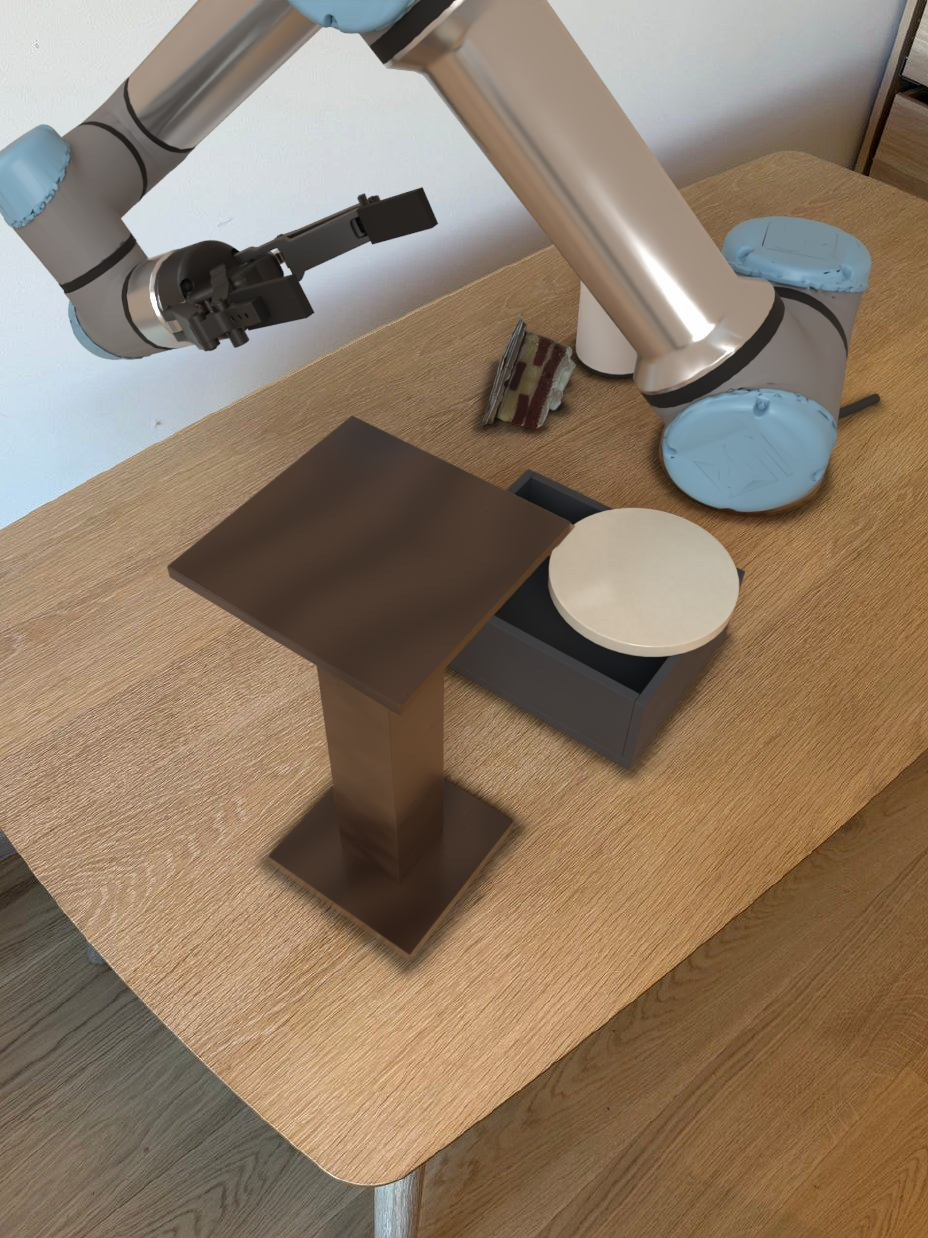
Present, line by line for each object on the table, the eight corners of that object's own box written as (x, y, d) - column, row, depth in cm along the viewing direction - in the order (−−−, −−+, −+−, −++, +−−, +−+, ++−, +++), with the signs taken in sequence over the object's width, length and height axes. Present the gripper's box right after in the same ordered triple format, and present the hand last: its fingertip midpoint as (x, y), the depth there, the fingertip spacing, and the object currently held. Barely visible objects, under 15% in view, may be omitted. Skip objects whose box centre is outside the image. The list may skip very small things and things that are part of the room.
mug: (654, 386, 110) (670, 296, 102) (566, 375, 111) (576, 286, 103) (660, 324, 117) (676, 235, 109) (578, 314, 118) (587, 226, 110)
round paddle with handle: (411, 551, 84) (411, 540, 83) (509, 451, 91) (510, 440, 90) (684, 688, 76) (687, 678, 75) (766, 566, 83) (770, 555, 82)
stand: (249, 867, 75) (166, 566, 52) (376, 730, 83) (352, 414, 60) (413, 984, 70) (400, 706, 47) (532, 826, 77) (571, 521, 55)
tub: (415, 649, 88) (413, 581, 82) (522, 536, 96) (528, 467, 90) (629, 771, 81) (644, 707, 74) (724, 638, 89) (745, 571, 83)
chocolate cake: (550, 452, 104) (597, 330, 103) (481, 425, 103) (527, 302, 102) (538, 453, 113) (580, 342, 112) (474, 428, 113) (516, 316, 111)
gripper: (317, 270, 97) (493, 224, 82) (105, 416, 84) (269, 392, 69) (276, 188, 94) (452, 124, 79) (48, 326, 80) (208, 281, 65)
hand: (367, 249), depth 74 cm, fingers open, 13 cm apart
